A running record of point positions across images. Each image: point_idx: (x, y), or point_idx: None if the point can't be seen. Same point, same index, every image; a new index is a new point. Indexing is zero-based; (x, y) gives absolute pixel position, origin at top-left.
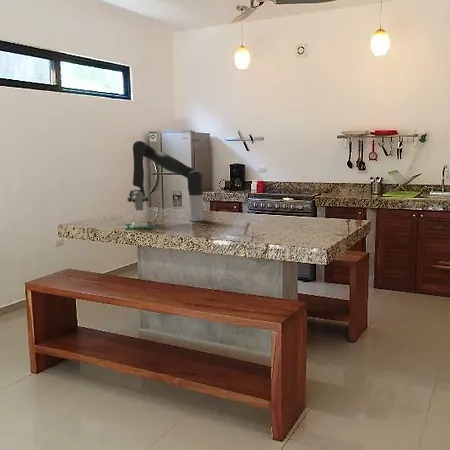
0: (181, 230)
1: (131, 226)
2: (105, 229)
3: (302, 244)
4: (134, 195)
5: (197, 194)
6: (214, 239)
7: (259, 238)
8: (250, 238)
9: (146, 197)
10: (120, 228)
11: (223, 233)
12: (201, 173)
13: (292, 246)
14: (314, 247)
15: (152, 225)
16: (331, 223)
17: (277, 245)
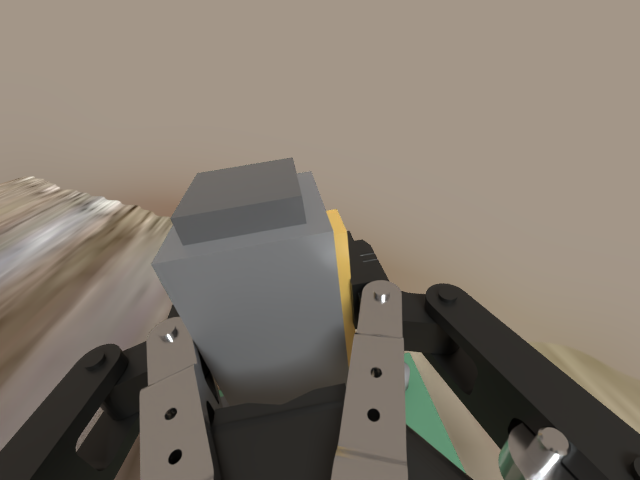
0: (97, 333)
1: None
2: None
3: (2, 194)
4: (335, 210)
5: None
6: (110, 214)
7: (4, 224)
8: (22, 223)
9: (106, 354)
10: (486, 446)
11: (8, 272)
12: None
13: (35, 185)
14: (14, 184)
15: (220, 397)
16: None
17: (48, 188)
